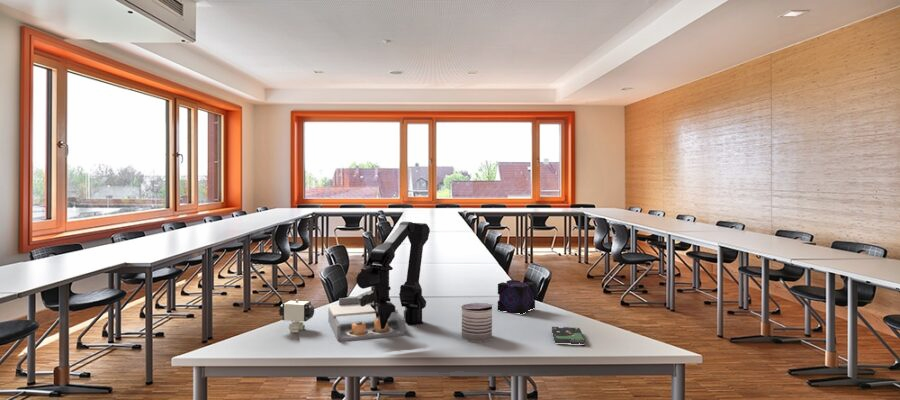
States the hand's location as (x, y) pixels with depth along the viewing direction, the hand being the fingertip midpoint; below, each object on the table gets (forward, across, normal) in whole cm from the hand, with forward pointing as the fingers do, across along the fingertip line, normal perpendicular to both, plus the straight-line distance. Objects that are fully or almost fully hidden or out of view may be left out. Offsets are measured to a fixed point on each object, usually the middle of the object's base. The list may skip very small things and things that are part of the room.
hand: (381, 326), depth 179 cm
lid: (-3, -14, -4) cm, 15 cm away
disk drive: (+4, +25, +62) cm, 67 cm away
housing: (+3, -8, -4) cm, 10 cm away
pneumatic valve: (+4, -15, -28) cm, 32 cm away
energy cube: (+4, -17, +64) cm, 66 cm away
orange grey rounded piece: (+1, 0, 0) cm, 1 cm away
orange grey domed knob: (+2, 0, -8) cm, 8 cm away
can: (+4, +13, +32) cm, 35 cm away
